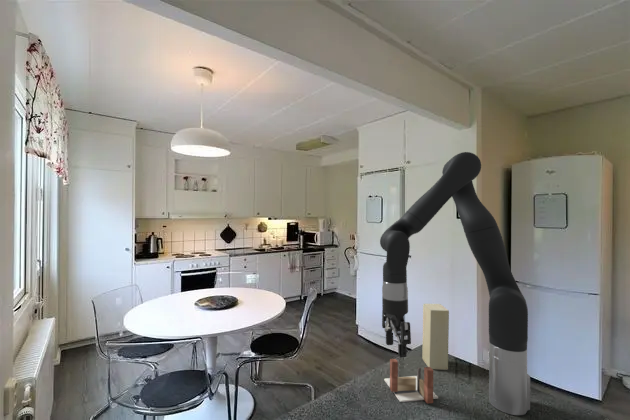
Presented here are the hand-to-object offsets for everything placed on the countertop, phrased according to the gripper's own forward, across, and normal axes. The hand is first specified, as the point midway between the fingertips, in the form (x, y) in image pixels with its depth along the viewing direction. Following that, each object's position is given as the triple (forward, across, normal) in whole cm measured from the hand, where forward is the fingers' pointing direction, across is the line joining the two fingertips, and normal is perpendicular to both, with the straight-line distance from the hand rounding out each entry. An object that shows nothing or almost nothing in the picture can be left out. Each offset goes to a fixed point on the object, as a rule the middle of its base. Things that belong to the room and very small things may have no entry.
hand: (395, 350), depth 91 cm
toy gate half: (+13, +1, -3) cm, 13 cm away
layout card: (+14, +3, -6) cm, 15 cm away
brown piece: (+14, -2, -8) cm, 16 cm away
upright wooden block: (+14, +16, -23) cm, 31 cm away
